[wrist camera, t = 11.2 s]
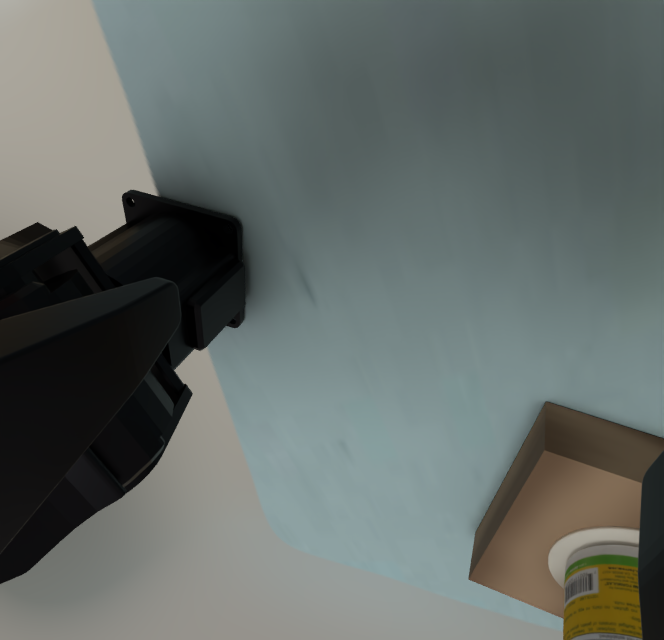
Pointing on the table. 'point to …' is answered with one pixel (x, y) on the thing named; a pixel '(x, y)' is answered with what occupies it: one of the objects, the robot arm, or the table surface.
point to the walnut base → (561, 504)
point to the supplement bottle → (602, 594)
